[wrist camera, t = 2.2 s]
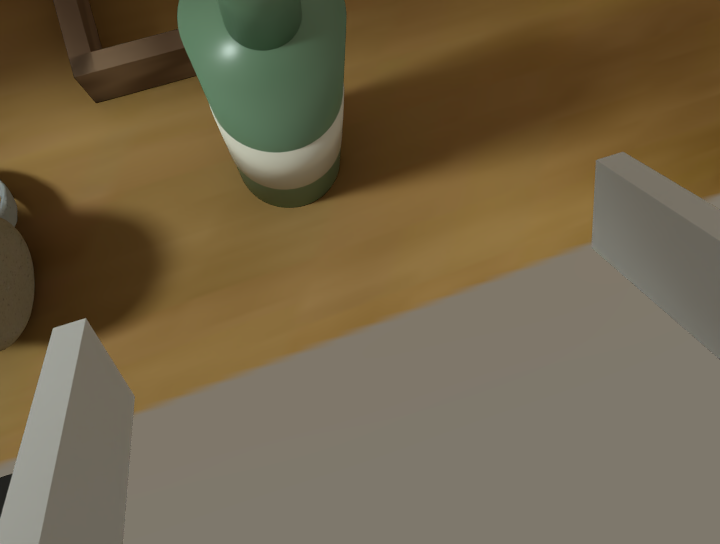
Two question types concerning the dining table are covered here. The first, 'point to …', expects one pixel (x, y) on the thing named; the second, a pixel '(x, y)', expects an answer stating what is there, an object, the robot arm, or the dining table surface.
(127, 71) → the u rest
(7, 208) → the ceramic mug
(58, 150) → the dining table surface
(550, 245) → the dining table surface
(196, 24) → the bottle
